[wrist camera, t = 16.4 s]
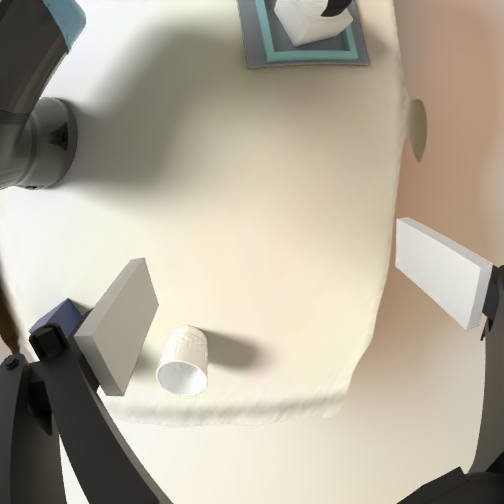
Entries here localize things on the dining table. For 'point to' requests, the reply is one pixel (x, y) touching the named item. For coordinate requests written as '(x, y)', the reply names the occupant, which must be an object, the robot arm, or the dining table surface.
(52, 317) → the blue wedge block
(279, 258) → the dining table surface
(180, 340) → the white cup
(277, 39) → the dock
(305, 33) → the medicine bottle
